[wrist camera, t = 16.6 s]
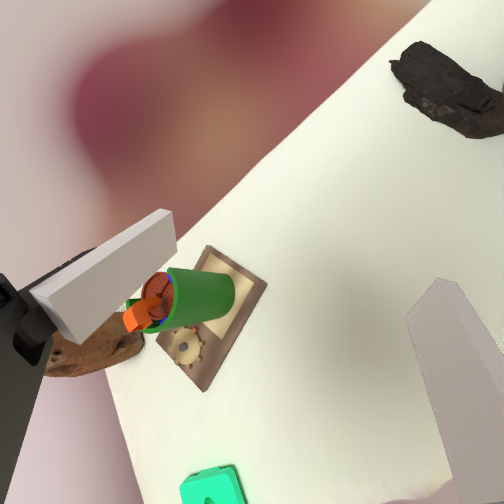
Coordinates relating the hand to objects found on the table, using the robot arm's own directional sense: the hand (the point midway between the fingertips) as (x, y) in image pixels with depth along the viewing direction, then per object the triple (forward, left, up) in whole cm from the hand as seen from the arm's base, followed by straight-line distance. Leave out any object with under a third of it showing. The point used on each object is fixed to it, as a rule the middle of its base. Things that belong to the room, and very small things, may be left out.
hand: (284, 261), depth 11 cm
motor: (+17, +15, -28) cm, 36 cm away
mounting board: (+17, +19, -29) cm, 39 cm away
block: (+33, +36, -29) cm, 57 cm away
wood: (0, -34, -30) cm, 45 cm away
